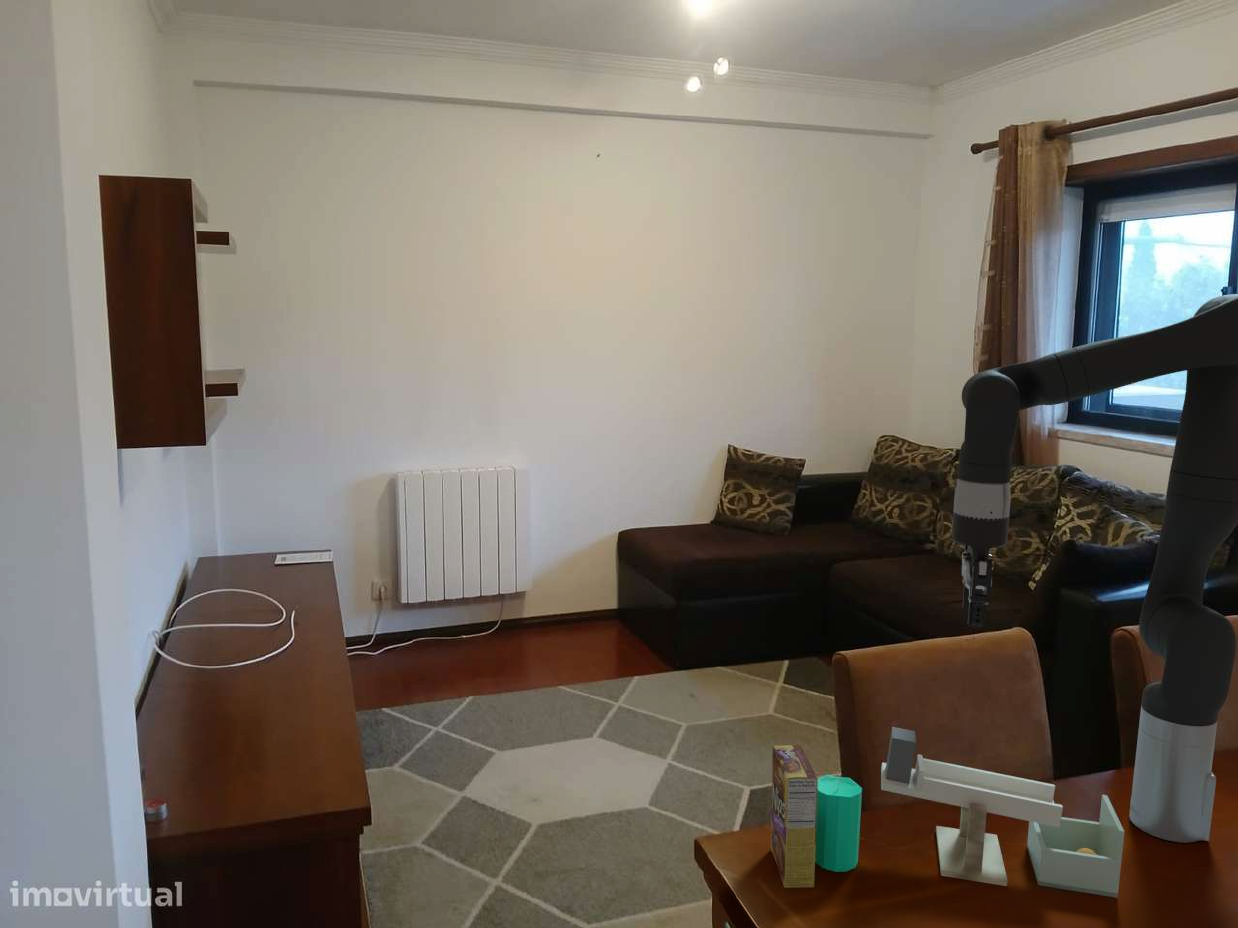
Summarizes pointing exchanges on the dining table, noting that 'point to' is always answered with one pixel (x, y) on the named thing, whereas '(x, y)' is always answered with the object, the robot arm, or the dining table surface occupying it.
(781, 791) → the candy box
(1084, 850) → the ball
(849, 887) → the dining table surface
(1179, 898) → the dining table surface
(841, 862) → the candle
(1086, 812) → the dining table surface
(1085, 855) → the cup
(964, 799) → the board
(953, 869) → the lever stand
